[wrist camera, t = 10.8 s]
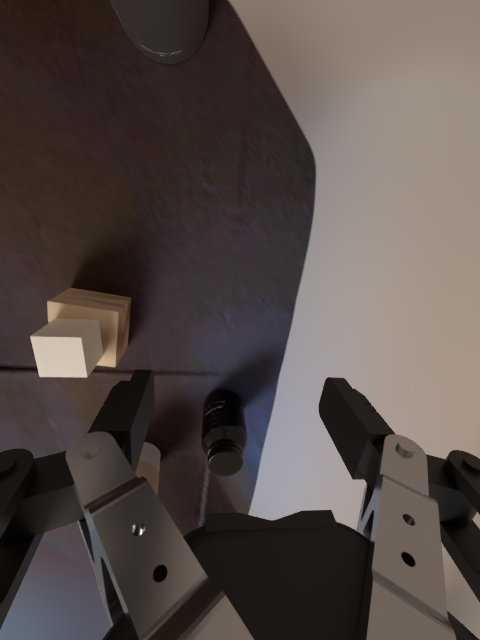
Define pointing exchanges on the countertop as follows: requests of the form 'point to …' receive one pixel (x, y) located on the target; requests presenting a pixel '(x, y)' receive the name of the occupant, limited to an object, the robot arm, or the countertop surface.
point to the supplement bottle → (224, 432)
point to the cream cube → (67, 347)
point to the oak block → (97, 318)
